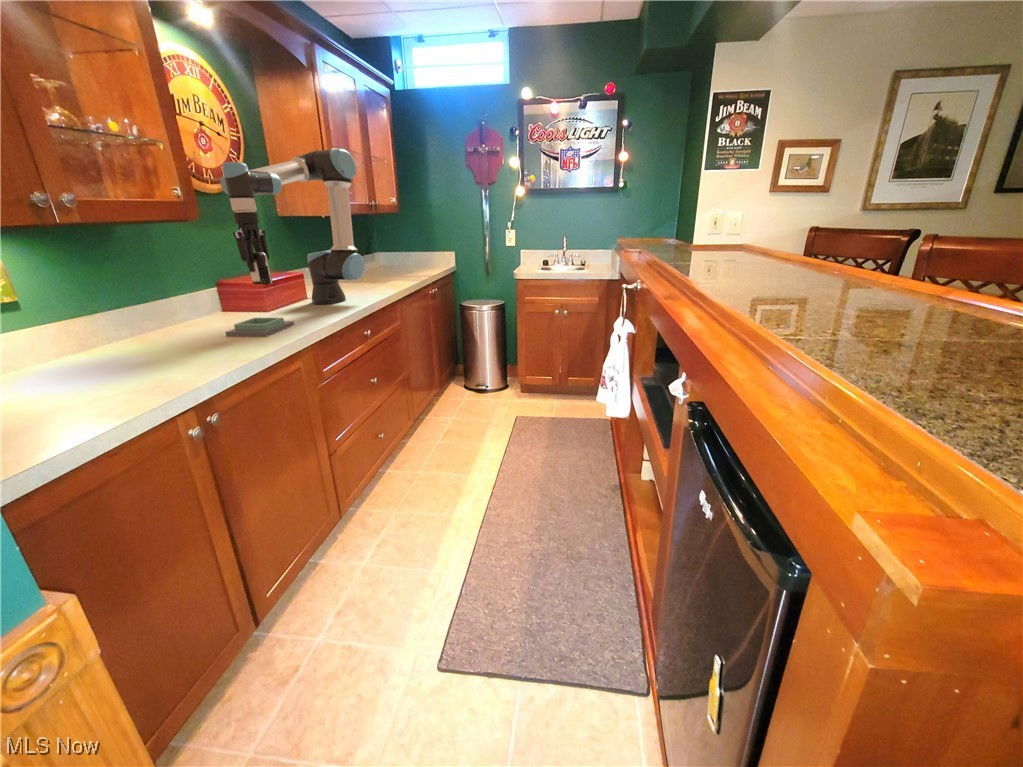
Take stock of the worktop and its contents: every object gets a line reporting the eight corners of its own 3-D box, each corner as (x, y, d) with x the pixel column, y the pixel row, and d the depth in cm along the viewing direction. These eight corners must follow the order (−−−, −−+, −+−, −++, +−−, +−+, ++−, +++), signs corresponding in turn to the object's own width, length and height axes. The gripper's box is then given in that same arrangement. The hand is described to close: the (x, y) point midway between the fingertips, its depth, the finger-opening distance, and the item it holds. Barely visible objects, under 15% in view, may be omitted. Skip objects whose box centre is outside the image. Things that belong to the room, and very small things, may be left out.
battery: (249, 285, 160) (242, 252, 156) (257, 283, 163) (249, 251, 159) (266, 285, 159) (259, 252, 155) (273, 283, 162) (266, 251, 158)
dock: (257, 324, 170) (254, 315, 169) (294, 324, 168) (292, 315, 166) (226, 336, 156) (223, 326, 154) (266, 336, 153) (264, 326, 152)
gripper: (252, 212, 160) (267, 276, 169) (216, 212, 145) (234, 283, 153) (270, 211, 159) (284, 276, 168) (236, 211, 144) (253, 283, 152)
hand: (260, 279), depth 160 cm, fingers closed on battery, 4 cm apart
